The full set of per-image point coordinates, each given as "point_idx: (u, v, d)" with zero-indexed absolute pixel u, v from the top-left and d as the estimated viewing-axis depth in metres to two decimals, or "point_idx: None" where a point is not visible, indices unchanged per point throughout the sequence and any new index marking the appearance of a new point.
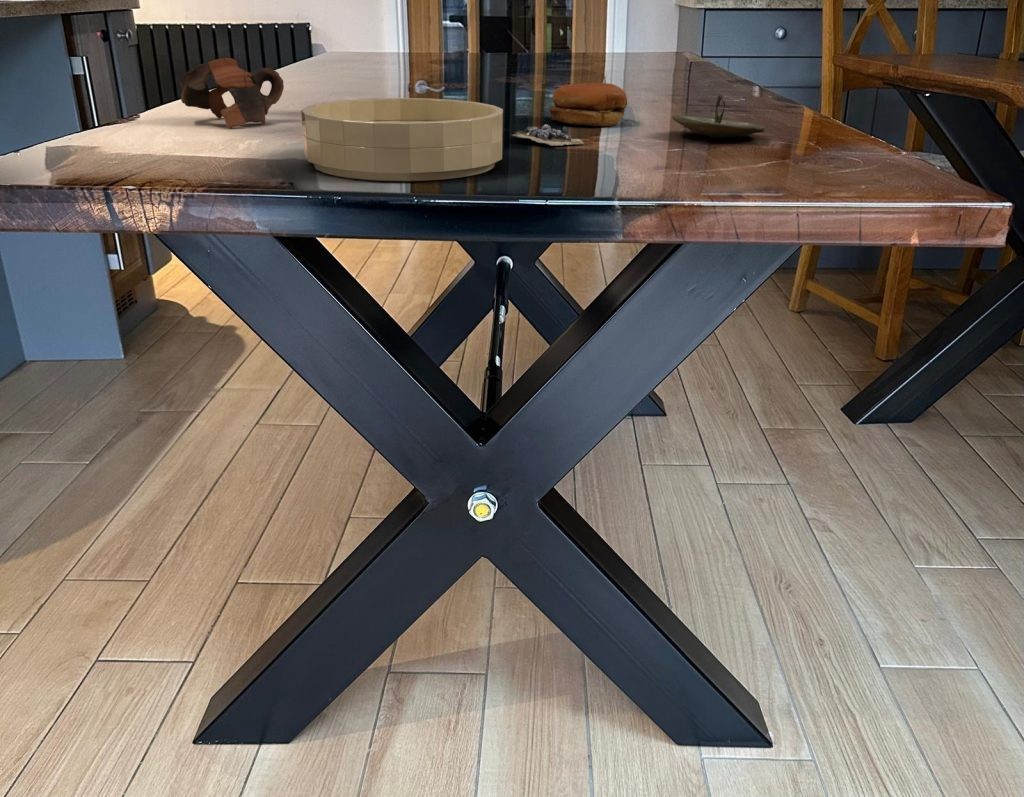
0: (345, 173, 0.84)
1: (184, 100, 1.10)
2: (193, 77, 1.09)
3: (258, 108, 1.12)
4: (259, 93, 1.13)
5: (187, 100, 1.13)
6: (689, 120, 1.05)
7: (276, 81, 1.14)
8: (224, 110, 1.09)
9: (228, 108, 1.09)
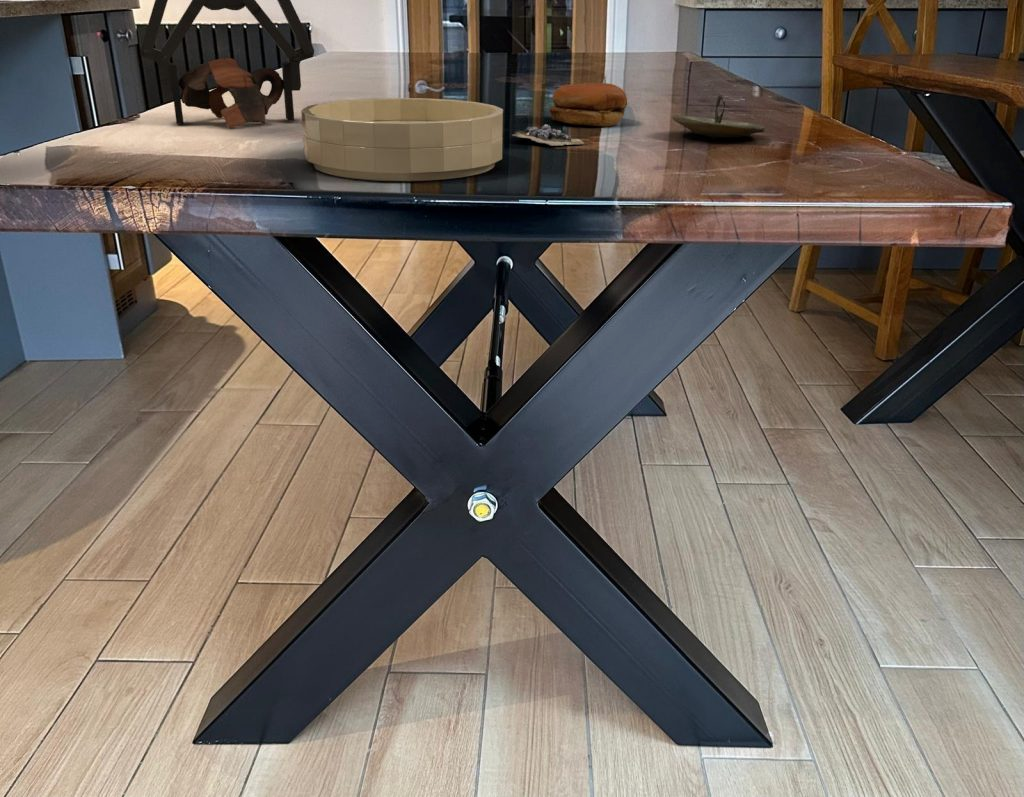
0: (345, 173, 0.84)
1: (184, 100, 1.10)
2: (193, 77, 1.09)
3: (258, 108, 1.12)
4: (259, 93, 1.13)
5: (187, 100, 1.13)
6: (689, 120, 1.05)
7: (276, 81, 1.14)
8: (224, 110, 1.09)
9: (228, 108, 1.09)
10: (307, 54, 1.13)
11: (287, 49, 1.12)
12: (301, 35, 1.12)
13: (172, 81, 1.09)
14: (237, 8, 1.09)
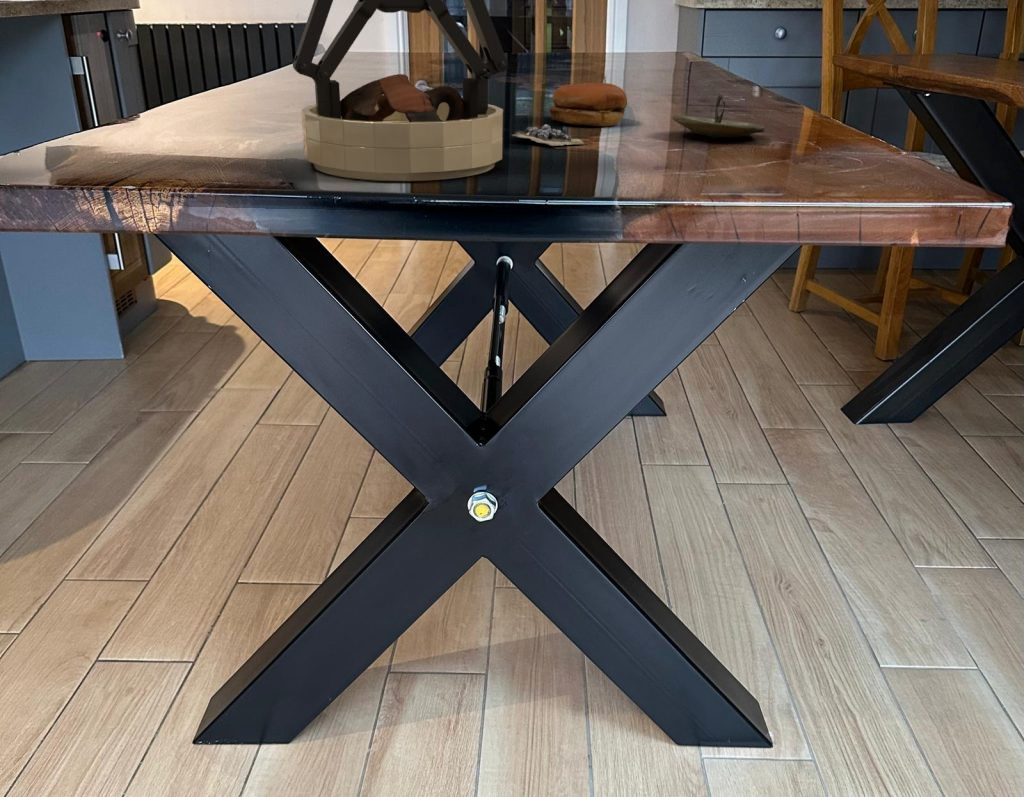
0: (345, 173, 0.84)
1: None
2: (360, 99, 0.85)
3: None
4: (438, 119, 0.88)
5: None
6: (689, 120, 1.05)
7: (457, 103, 0.89)
8: None
9: None
10: (499, 69, 0.88)
11: (475, 62, 0.87)
12: (493, 44, 0.87)
13: (333, 104, 0.85)
14: (418, 10, 0.84)
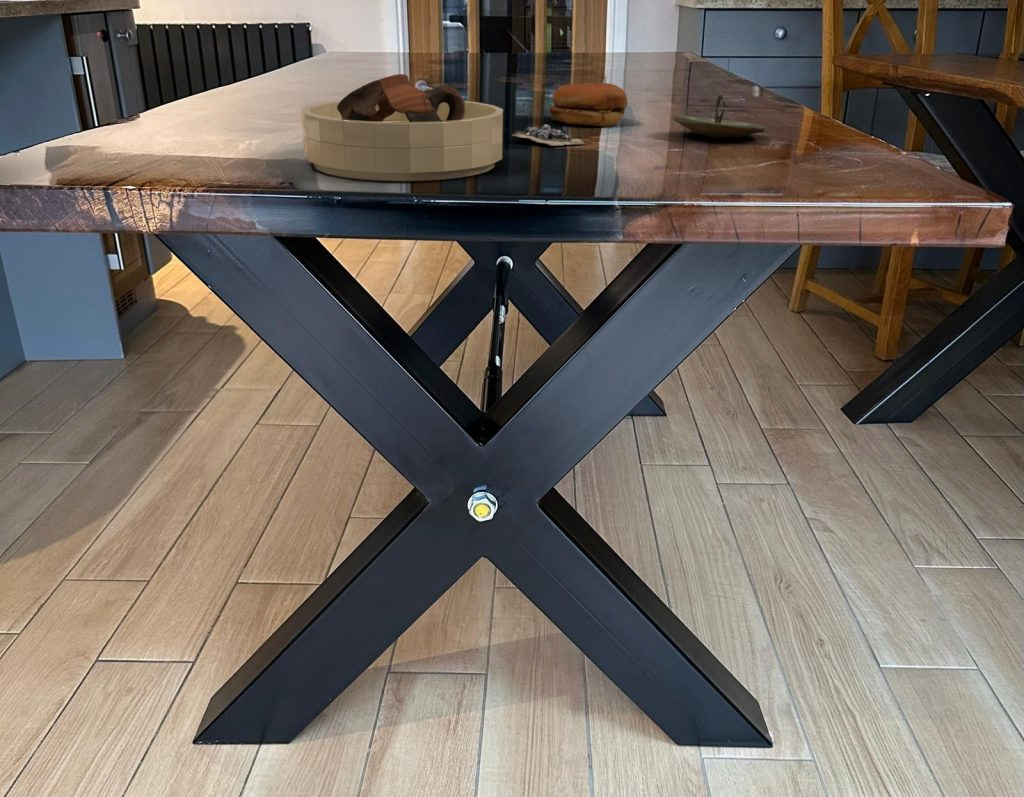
0: (345, 173, 0.84)
1: None
2: (360, 99, 0.85)
3: None
4: (438, 119, 0.88)
5: None
6: (689, 120, 1.05)
7: (458, 103, 0.90)
8: None
9: None
10: None
11: None
12: None
13: None
14: None
